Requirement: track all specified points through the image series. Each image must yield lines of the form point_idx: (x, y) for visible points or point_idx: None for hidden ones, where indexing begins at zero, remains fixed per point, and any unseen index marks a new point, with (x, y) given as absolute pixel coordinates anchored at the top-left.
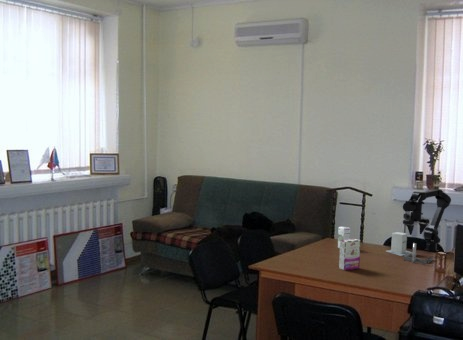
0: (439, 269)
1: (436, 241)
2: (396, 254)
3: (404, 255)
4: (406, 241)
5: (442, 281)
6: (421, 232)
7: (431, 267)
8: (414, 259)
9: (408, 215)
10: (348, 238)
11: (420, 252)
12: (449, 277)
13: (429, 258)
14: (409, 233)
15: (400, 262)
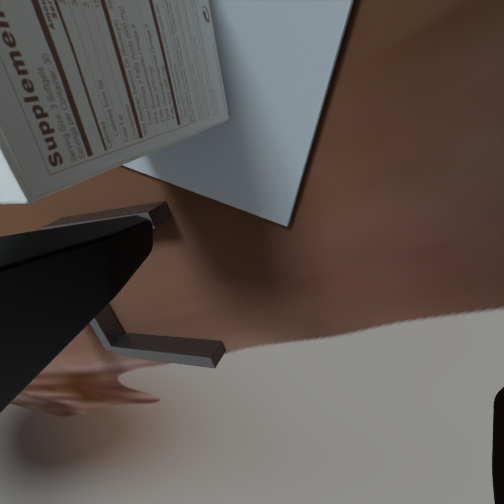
0: (101, 386)
1: None
2: None
3: (136, 168)
4: (144, 154)
5: (20, 395)
6: (494, 457)
7: (93, 361)
8: None
9: None
10: None
11: (437, 208)
12: (63, 410)
13: (154, 356)
14: (109, 223)
15: (9, 232)
